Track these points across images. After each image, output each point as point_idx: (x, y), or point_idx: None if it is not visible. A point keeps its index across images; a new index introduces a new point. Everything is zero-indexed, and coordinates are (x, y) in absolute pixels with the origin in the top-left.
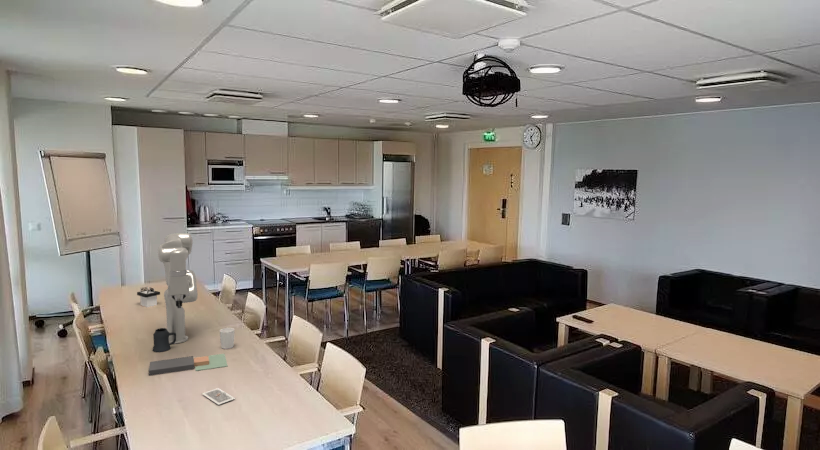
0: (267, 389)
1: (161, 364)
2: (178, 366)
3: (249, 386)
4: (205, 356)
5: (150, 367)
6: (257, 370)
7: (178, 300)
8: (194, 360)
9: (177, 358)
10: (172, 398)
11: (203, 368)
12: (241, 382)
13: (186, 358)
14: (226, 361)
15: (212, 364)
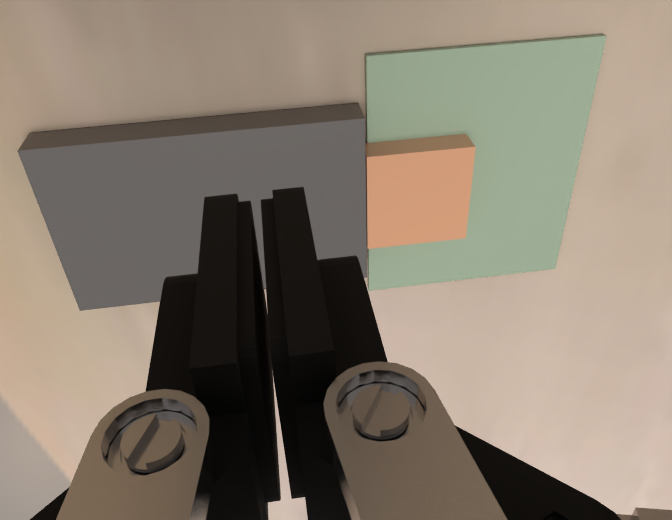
0: (618, 488)
1: (138, 229)
2: None
3: (570, 464)
4: (454, 153)
5: (71, 264)
6: (668, 343)
7: (258, 444)
8: (371, 210)
9: (240, 139)
10: (274, 502)
11: (416, 275)
12: (554, 433)
13: (312, 159)
14: (569, 203)
15: (476, 228)
